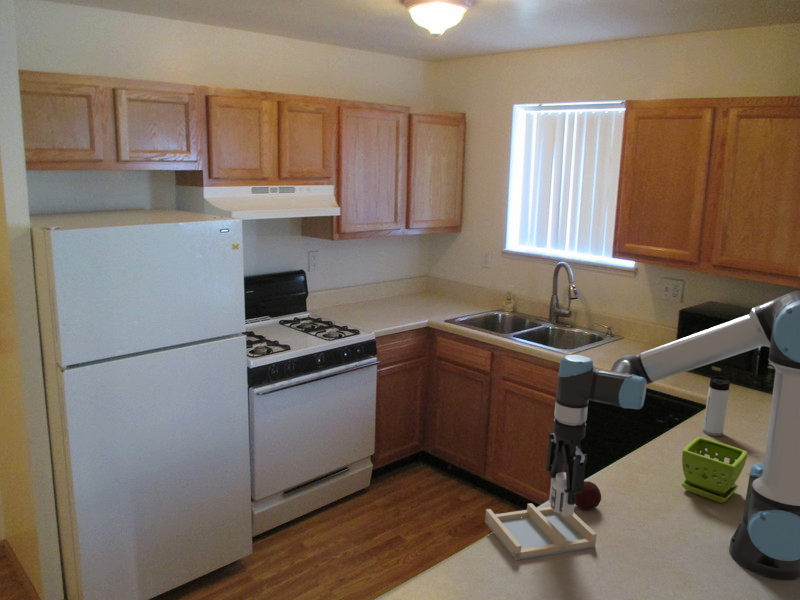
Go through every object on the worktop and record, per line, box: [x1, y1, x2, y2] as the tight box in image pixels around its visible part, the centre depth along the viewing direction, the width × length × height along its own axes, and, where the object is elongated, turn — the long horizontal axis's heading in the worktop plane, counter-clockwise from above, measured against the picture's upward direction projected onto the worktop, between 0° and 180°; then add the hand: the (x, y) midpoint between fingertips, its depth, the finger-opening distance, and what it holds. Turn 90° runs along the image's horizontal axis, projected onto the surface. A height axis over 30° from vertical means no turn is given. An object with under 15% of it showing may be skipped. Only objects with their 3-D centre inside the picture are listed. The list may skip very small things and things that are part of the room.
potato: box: [574, 480, 602, 511], centre depth 167 cm, size 7×8×7 cm
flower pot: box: [681, 436, 749, 504], centre depth 177 cm, size 14×14×13 cm
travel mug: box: [702, 375, 731, 437], centre depth 219 cm, size 6×7×20 cm
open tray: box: [484, 503, 598, 561], centre depth 154 cm, size 16×21×4 cm
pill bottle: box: [550, 471, 567, 514], centre depth 154 cm, size 5×5×9 cm
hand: (560, 508), depth 155 cm, fingers closed on pill bottle, 5 cm apart
